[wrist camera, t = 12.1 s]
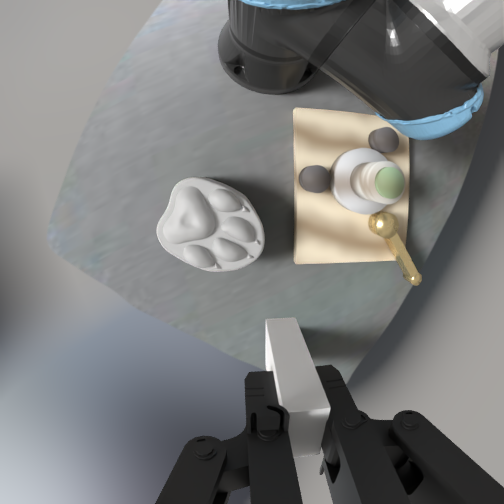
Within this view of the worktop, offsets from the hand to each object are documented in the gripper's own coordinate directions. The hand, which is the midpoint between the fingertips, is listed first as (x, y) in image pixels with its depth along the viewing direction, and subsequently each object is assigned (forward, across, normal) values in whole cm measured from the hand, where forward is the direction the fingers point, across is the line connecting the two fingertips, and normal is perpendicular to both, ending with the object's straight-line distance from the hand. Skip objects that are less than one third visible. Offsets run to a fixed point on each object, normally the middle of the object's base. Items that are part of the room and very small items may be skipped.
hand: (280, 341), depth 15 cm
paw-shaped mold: (+29, -5, +2) cm, 29 cm away
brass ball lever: (+26, +21, -2) cm, 34 cm away
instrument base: (+28, +15, +7) cm, 33 cm away
